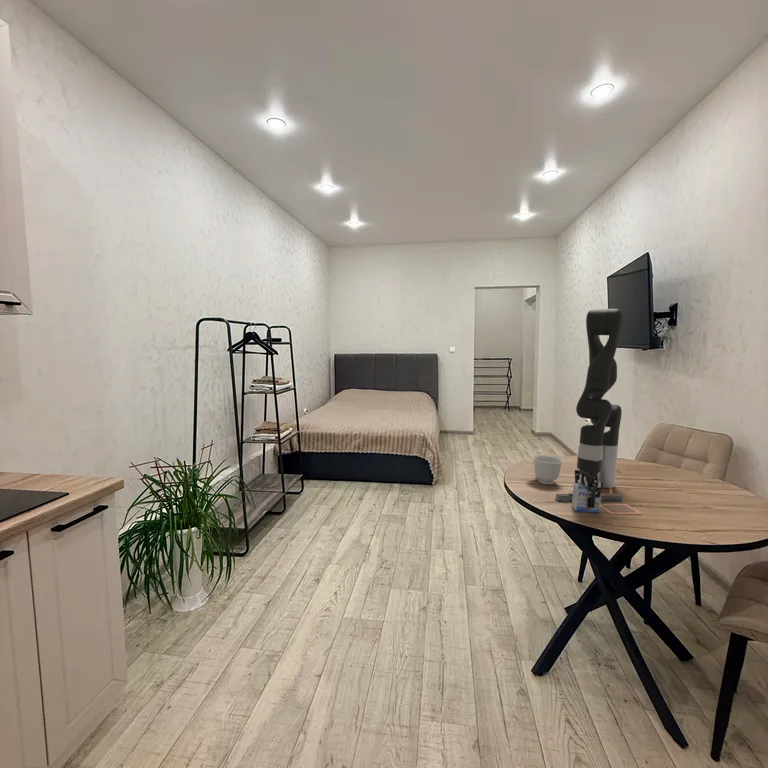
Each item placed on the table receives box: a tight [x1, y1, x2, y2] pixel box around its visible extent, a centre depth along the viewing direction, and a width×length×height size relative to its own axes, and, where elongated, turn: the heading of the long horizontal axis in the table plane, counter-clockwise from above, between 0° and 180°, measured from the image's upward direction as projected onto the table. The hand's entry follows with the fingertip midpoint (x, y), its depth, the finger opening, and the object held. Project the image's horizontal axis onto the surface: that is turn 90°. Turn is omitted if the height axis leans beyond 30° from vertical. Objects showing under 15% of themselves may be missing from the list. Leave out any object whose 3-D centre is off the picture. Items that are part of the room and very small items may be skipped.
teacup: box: [531, 453, 565, 485], centre depth 171 cm, size 12×15×10 cm
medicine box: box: [571, 482, 603, 514], centre depth 142 cm, size 8×4×9 cm, turn 82°
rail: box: [555, 488, 623, 502], centre depth 151 cm, size 2×24×4 cm, turn 94°
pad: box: [600, 503, 643, 515], centre depth 144 cm, size 8×11×1 cm
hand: (586, 504), depth 142 cm, fingers closed on medicine box, 5 cm apart
